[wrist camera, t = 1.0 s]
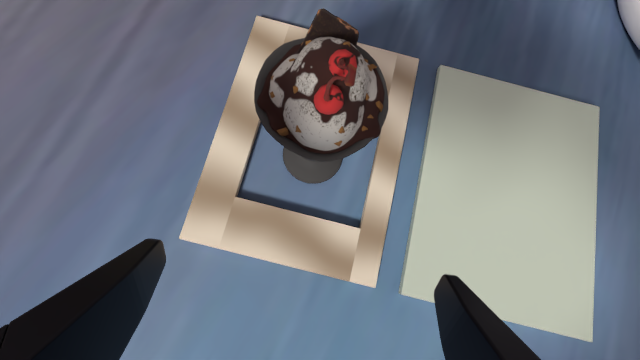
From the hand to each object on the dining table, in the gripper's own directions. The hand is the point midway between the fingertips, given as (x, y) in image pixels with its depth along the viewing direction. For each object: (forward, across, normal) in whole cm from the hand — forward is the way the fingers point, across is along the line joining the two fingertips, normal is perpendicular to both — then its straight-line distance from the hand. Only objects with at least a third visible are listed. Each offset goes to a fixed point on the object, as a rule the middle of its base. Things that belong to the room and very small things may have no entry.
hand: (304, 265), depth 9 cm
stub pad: (+14, -16, +5) cm, 22 cm away
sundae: (+15, 0, +4) cm, 16 cm away
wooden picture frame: (+16, 0, +3) cm, 16 cm away
